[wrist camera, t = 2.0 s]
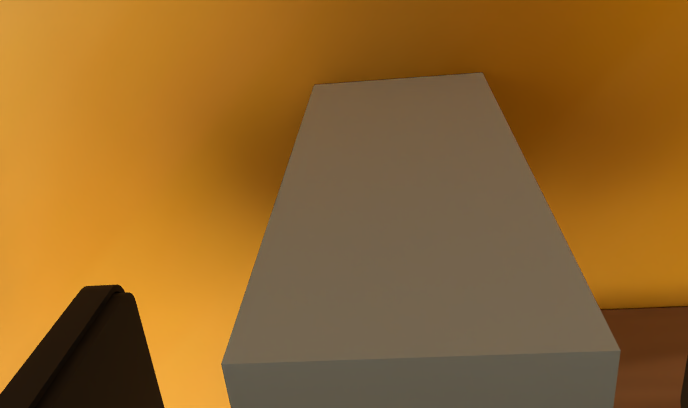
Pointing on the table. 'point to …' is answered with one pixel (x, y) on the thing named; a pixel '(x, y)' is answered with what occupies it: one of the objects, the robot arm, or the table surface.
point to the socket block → (649, 355)
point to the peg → (415, 265)
